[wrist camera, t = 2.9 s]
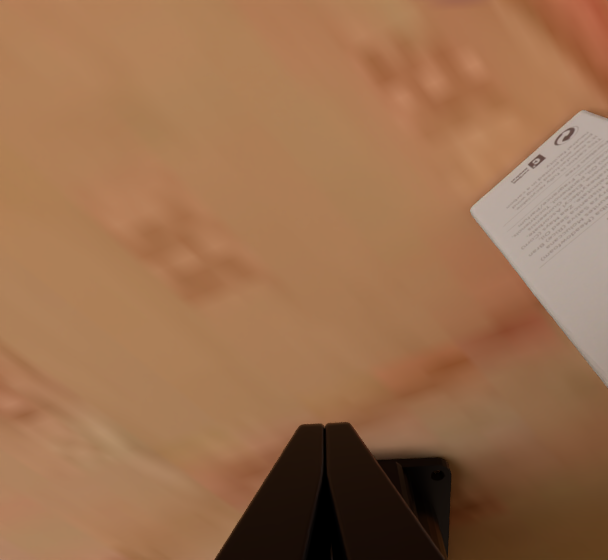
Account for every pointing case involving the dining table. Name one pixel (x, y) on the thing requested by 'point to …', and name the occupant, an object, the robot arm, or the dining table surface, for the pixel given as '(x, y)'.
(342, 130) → the dining table surface
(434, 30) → the dining table surface
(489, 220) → the skincare box
